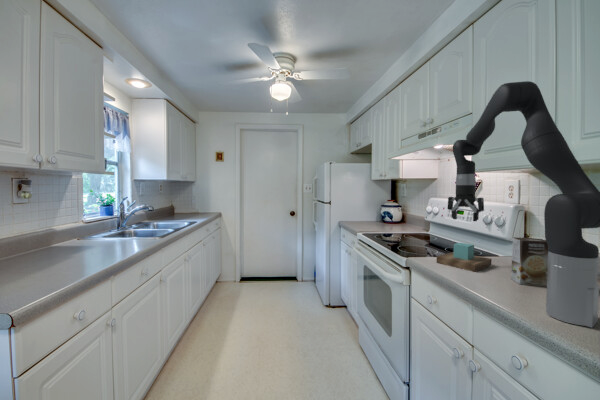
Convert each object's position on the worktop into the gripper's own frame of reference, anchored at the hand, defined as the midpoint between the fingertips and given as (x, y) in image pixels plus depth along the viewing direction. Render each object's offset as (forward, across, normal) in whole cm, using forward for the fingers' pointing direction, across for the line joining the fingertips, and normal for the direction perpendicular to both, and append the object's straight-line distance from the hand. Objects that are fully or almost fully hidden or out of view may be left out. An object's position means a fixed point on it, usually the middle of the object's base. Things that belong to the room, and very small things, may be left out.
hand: (464, 220), depth 118 cm
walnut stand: (+20, 0, 0) cm, 20 cm away
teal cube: (+17, 0, 0) cm, 17 cm away
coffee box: (+20, +25, -5) cm, 33 cm away
